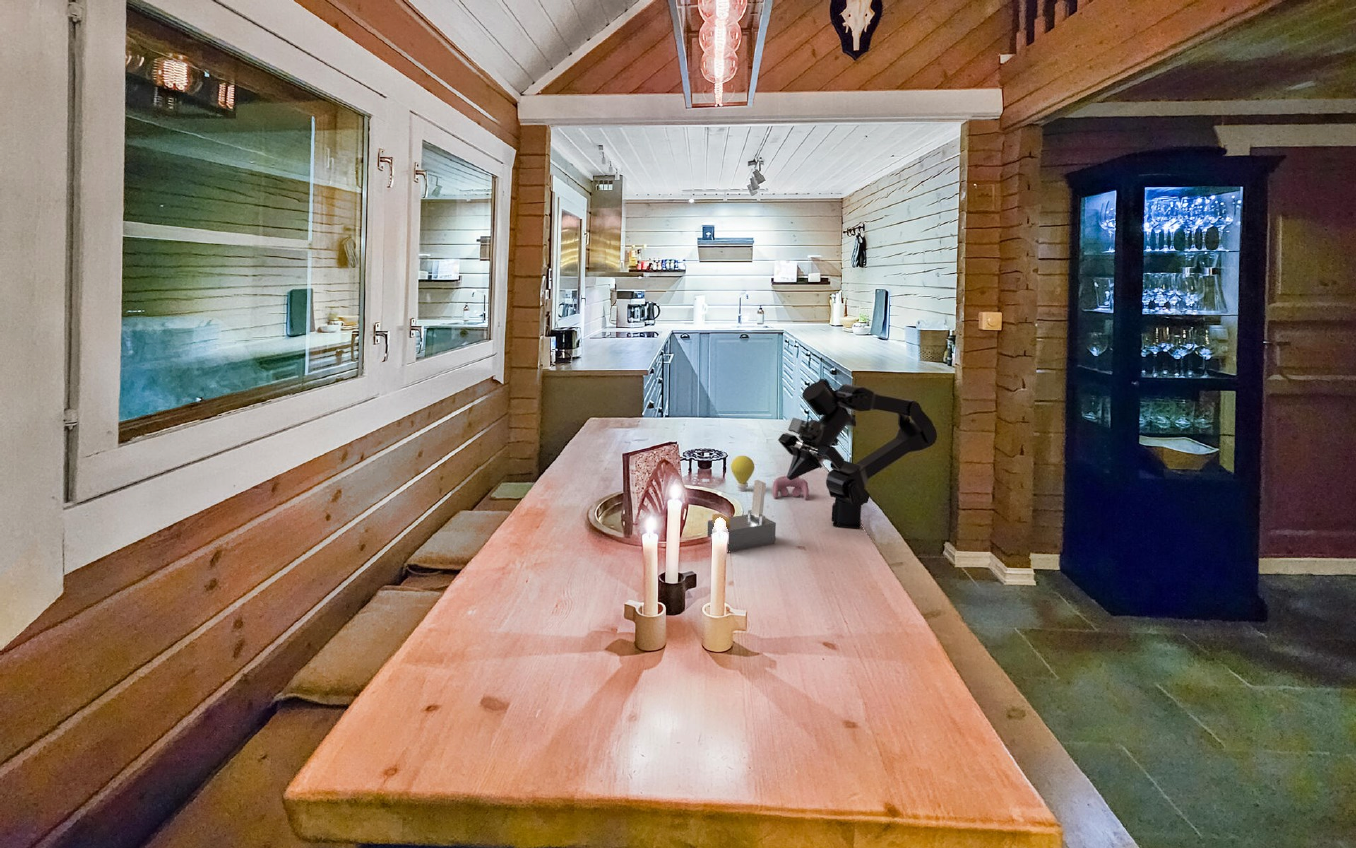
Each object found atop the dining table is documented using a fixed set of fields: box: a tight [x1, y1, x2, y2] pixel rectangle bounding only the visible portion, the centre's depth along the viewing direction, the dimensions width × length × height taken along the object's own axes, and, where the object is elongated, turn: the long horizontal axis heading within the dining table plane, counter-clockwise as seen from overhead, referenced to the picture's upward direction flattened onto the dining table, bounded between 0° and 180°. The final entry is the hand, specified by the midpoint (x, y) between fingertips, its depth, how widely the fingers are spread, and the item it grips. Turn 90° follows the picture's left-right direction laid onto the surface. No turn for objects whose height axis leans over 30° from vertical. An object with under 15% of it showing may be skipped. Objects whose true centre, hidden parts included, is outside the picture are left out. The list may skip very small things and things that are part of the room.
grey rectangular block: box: [707, 509, 777, 554], centre depth 167 cm, size 13×8×7 cm, turn 118°
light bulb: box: [730, 455, 755, 492], centre depth 211 cm, size 7×7×10 cm
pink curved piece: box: [772, 475, 810, 501], centre depth 205 cm, size 10×5×7 cm, turn 85°
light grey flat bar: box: [751, 479, 767, 519], centre depth 168 cm, size 8×3×1 cm
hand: (788, 478), depth 171 cm, fingers closed
